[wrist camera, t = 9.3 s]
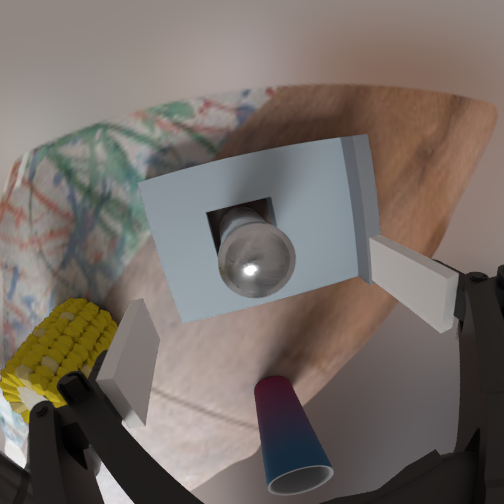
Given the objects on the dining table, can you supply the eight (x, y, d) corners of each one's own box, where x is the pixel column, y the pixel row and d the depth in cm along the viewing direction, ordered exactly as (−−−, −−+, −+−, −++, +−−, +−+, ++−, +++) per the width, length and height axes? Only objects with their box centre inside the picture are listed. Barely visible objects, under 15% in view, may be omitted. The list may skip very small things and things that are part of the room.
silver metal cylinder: (222, 259, 29) (229, 306, 20) (209, 209, 28) (209, 235, 18) (272, 246, 30) (301, 287, 20) (261, 196, 28) (288, 215, 19)
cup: (249, 371, 34) (272, 471, 20) (301, 369, 35) (342, 459, 21) (245, 407, 36) (263, 498, 22) (292, 403, 37) (324, 488, 23)
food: (139, 340, 33) (79, 353, 33) (88, 264, 26) (28, 287, 26) (127, 455, 20) (55, 452, 20) (36, 388, 14) (-25, 390, 13)
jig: (184, 309, 30) (181, 337, 25) (144, 180, 26) (130, 184, 21) (358, 262, 32) (383, 280, 27) (341, 137, 27) (367, 133, 22)
